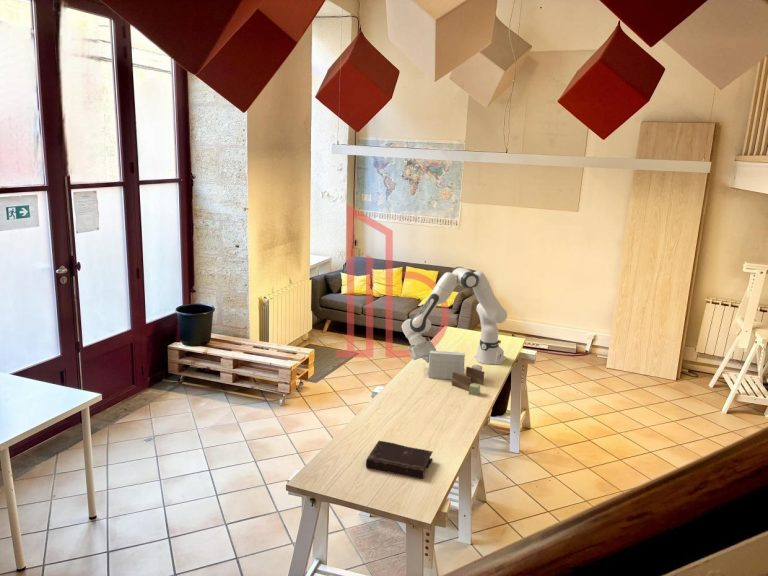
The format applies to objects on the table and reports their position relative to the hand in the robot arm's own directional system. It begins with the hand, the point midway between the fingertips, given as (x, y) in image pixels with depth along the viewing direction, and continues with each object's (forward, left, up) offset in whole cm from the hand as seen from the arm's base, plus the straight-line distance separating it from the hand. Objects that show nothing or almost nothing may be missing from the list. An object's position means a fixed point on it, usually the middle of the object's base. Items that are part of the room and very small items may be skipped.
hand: (429, 362), depth 370 cm
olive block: (+8, +39, -6) cm, 40 cm away
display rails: (0, +29, -6) cm, 30 cm away
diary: (+99, +62, -7) cm, 117 cm away
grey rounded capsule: (-12, +27, -6) cm, 30 cm away
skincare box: (0, +13, -7) cm, 15 cm away
